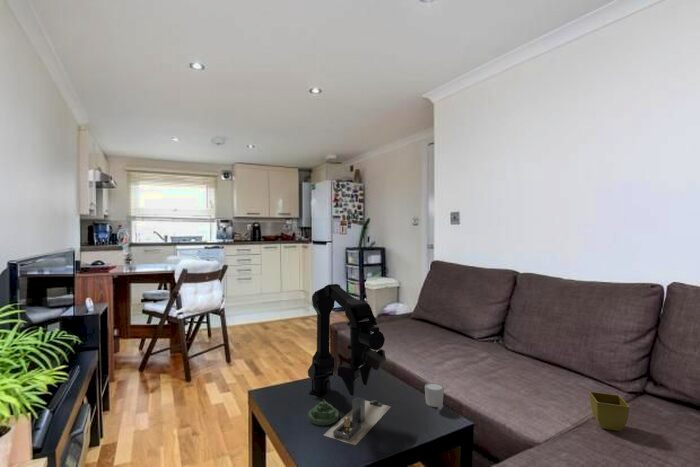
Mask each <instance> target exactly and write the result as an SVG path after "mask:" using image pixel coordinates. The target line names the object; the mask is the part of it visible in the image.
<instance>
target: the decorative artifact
mask: <svg viewBox="0 0 700 467" xmlns="http://www.w3.org/2000/svg"><path fill="white" fill-rule="evenodd" d="M307 414H308V416H307V417H308V418H307V420H308V421H309V423H311V424H313V425H316V426H328V425H329V426H330V425H332V424H336V423H337V422H338V421H339V417H340V416H339V415H340V414H339V410H338V409H337V408H335V407H334V406H333V405H332V404H331V403H329V402H327V401H326V400H325V399H322V401H320V402H318V404H316V405H315V406H313V408H310V410H309V411H308V413H307Z"/></svg>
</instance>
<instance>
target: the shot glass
mask: <svg viewBox="0 0 700 467" xmlns="http://www.w3.org/2000/svg"><path fill="white" fill-rule="evenodd" d="M444 390H445V386H444V385H442V384H440V383H436V382H428V383H426V384H425V385H424V394H425V404H426V405H428V406H429V407H432V408H433V407H434V408H436V410H437V411H438V410H441V409H443V402H444V393H445V392H444Z"/></svg>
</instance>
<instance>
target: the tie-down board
mask: <svg viewBox="0 0 700 467" xmlns="http://www.w3.org/2000/svg"><path fill="white" fill-rule="evenodd" d="M391 408H392V406H390V405H386V404H383V403H382V402H380V401H379V400H377V399H374V400H370V401H369V400H366V399H365V420H364V421H363V422H362V423H361V428H360V430H359V431H358V432H357V433H356V434H355V435H354V436H353V437H352V438H351V439H350V440H349V441H348V440H345V439H342V438H338V437H335V436H333V431H334V430H335V429H336V428H338V427H339V426H340V425H341V424H342V423H343V422H344V419H345V418H346V417H349V418H350V421H352V409H351V410H349V412H348V413H346V414H345V415H344V416H343V417H342V418H341V419H339V420H338V421H336V422H335V423H334V425H333V426H332V427H331V428H329V429H328V430H327V431H326V432H325V433H324V434H323V436H324V437H327V438H330V439H334V440H336V441H340V442H343V443H345V444H350V445H353V446H356V445H358V443H359V442H360V441H361V440H363V438H364V437H365V436H366V435H367V433H368V432H370V430H371V429H372V428H373V427H374V426H375V425H376V424H377V422H379V421H380V420H381V418H382V417H384V415H385V414H386V413H387V412H388V411H389V410H390V409H391ZM353 428H354V427H350V431H351V430H352V429H353ZM341 432H343V433H344V429H343V430H342V431H341Z"/></svg>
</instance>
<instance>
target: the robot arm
mask: <svg viewBox="0 0 700 467" xmlns="http://www.w3.org/2000/svg"><path fill="white" fill-rule="evenodd" d="M311 302H312V307H313V309H314V311H315V313H316V351H315V353H314V355H313V357H312V360H311V361H312V362H311V365H310V366H309V368H308V370H307V374H308V375H307V377H309V378H310V379H311V390H309V392H308V393H309V394H311V395H316V396H320V397H324V396H326V395H327V394H328V393H330V392H331V391H332V388H331V379H330V377H333V375H334V373H335V372H334V371H335V367H336V365H335V357H334V356H333V355H332V353H331V352H330V345H331V344H330V339H331V338H330V337H331V336H330V335H331V334H330V331H331V330H330V329H331V328H330V326H331V325H330V323H331V321H330V320H331V319H330V318H331V313H332V311H333V309H334V308H335V302H336V303H337V304H338V305H339V306H340V307H341V308H342V309H343V310H344V315H345V317H346V318H347V319H348V320H349V321H348V322H347V323H346V325H347V326H348V327H350V328H349V329H350V330H349V344H348V345H347V350H350V351H349V357H348V358H347V362H348V363H346V362H344V363H342V364H340V365H339V366H338V367H337V368H336V376H339V378H341V379H342V381H343V383H344V385H345V387H346V389H347V391H348V393H349V395H350V396H355V391H356V380H357V379H358V378H360V377H361V381H362V383H363V384H362V385H363V386H367V384H368V381H369V377H370V374H371V371H372V369H373V370H375V371H379V370H380V369H381V368H382V367H383V365H384V362H385V361H386V360H387V359H386V351H385V350H384V349H382V348H383V347H384V345H385V341H386V339H385V336H384V333H383V332H381V331H380V327H379V326H377V325H378V323H377V318H376V317H375V315H374V312H373V310H372V308H371V306H370V304H369V303H368V302H366V301H364V300H362V299H356V298H354V297H353V296H352V295H351V294H350V293H348V292H347V291H346V290H344V289H343V288H342V287H341V285H340V284H338V283H331V284H326V285H325V286H324V287H322V288H320V289H318V290H316V291H314V293H312V296H311Z"/></svg>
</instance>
